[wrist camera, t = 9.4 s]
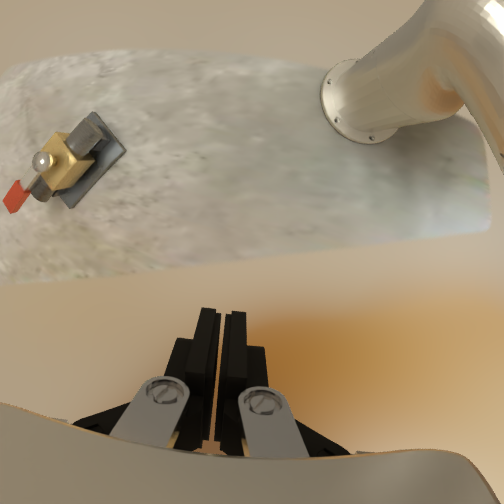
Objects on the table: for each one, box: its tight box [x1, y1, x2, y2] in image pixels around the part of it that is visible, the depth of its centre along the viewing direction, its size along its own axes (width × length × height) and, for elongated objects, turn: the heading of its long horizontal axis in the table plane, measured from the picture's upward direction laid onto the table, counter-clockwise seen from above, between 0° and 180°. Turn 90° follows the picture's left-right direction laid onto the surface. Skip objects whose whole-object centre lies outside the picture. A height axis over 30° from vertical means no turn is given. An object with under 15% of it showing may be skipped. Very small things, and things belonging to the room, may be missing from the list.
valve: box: [29, 112, 126, 209], centre depth 34 cm, size 12×8×10 cm, turn 129°
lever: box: [3, 152, 53, 214], centre depth 29 cm, size 9×2×2 cm, turn 128°
